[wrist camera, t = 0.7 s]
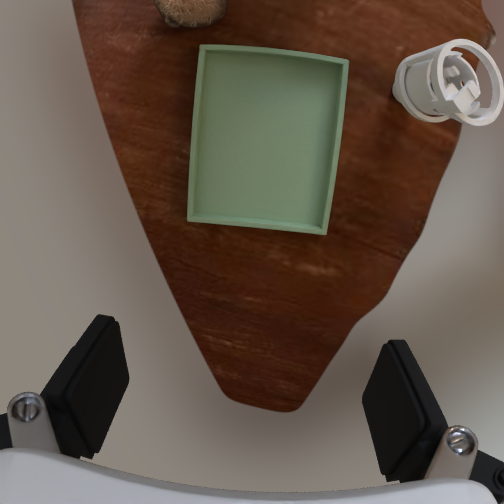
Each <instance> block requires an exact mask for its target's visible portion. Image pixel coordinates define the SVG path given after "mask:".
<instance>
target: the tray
mask: <svg viewBox="0 0 504 504" xmlns="http://www.w3.org/2000/svg"><path fill="white" fill-rule="evenodd" d="M348 65H349V60H346V59H341V58H335V57H330V56H324V55H319V54H312V53H306V52H299V51H292V50H283V49H274V48H264V47H252V46H236V45H200V50H199V58H198V67H197V77H196V87H195V98H194V109H193V121H192V134H191V149H190V166H189V185H188V209H187V221H189V222H200V223H211V224H222V225H233V226H243V227H254V228H264V229H273V230H283V231H293V232H302V233H311V234H320V235H326V234H327V228H328V223H329V217H330V211H331V205H332V198H333V192H334V185H335V179H336V172H337V165H338V157H339V150H340V142H341V134H342V126H343V118H344V109H345V99H346V89H347V79H348V67H349V66H348Z"/></svg>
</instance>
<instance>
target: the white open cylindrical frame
mask: <svg viewBox="0 0 504 504" xmlns="http://www.w3.org/2000/svg"><path fill="white" fill-rule="evenodd" d="M453 47H462V48H465V49H467V50H469V51H471V52H472V53H474V54H475V55H476V56H477V57H478V58H479V59H480V60H481V61H482V63H483V64H484V65H485V67H486V69H487V71H488V73H489V76H490V79H491V82H492V90H493V94H492V101H491V105H490V107H489V108H479V106H480V102H479V101H474V100H475V99H477V97H478V96H479V94H480V93H481V92H480V88H479V83H478V79H477V76H476V74H475V72H474V70H473V68H472V67H471V66H470V64H469V63H468V62H467V61H466V60H464V59H463V58H462V57H460V56H461V55H462V53H460V52H455V51H451V49H452V48H453ZM461 80H462V81H463V82H464V87H463V86H462V83H461ZM392 91H393V95H394V97H395V98H396V100H397V101H398V102H400V103H402V105H403V106H404V108H405V109H406V110H407V111H408V112H409V113H410V114H411V115H412V116H414V117H415V118H417V119H419V120H422V121H425V122H442V121H445V120H447V119H449V118H454V119H455V120H457V121H459V122H461V123H463V124H467V125H475V126H483V125H487V124H489V123H491V122H493V121H494V120H495V119H496V118H497V116H498V115H499V113H500V111H501V109H502V106H503V101H504V87H503V81H502V77H501V74H500V71H499V69H498V67H497V65H496V63H495V62H494V60H493V59H492V57H491V56H490V55H489V54H488V53H487V51H486V50H484V49H483V48H482V47H481V46H479V45H478V44H476V43H474V42H472V41H470V40H466V39H456V40H453V41H450V42H447V43H444V44H442V45H439V46H437V47H434V48H431V49H428V50H426V51H423V52H420V53H417V54H414V55H412V56H409V57H407V58H406V59H404V60H403V61H402V62H401V63H400V65H399V67H398V69H397V71H396V76H395V83H394V84H393V88H392ZM433 109H435V110H433ZM422 113H423V114H422ZM424 114H428V115H439V116H436V117H429V116H426V115H424Z"/></svg>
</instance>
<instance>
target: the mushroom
mask: <svg viewBox="0 0 504 504" xmlns="http://www.w3.org/2000/svg"><path fill="white" fill-rule="evenodd" d="M154 3H155V6H156V7H157V9H158V10H159V12H160V14H161V15H162V16H164V19H165V23H166V24H168V25H169V26H171V27H179V26H180V25H182V26H185V27H206V26H209V25H212V24H214V23H216V22H218V21H219V20H220V19H221V18H222V17H223V16H224V15H225V13H226V11H227V0H154Z"/></svg>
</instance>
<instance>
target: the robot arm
mask: <svg viewBox="0 0 504 504" xmlns="http://www.w3.org/2000/svg"><path fill="white" fill-rule="evenodd" d="M128 383H129V372H128V368H127V363H126V358H125V353H124V348H123V343H122V338H121V332H120V326H119V323H118V322H117V321H115V319H114V317H112V316H106V315H100V314H99V315H97V316H96V317H95V318H94V320H93V321H92V323H91V324H90V325H89V327H88V328H87V330H86V331H85V332H84V333H83V335H82V336H81V338H80V339H79V340H78V342H77V343H76V345H75V346H73V347H72V348H71V350H70V351H69V353H68V354H67V355H66V357H65V358H64V360H63V361H62V363H61V364H60V365H59V367H58V369H57V370H56V371H55V373H54V374H53V376H52V377H51V379H50V380H49V382H48V383H47V385H46V386H45V388H44V389H43V391H42V392H41V394H40V395H38V394H36V393H33V392H24V393H21V394H18V395H16V396H15V397H13V398H12V400H11V401H10V402H9V405H8V407H7V413H5V414H2V415H0V504H504V462H502V461H500V460H498V459H496V458H494V457H492V456H489V455H488V454H486V453H484V452H482V451H480V450H478V440H477V437H476V436H475V434H474V433H473V432H472V431H471V430H470V429H468V428H466V427H464V426H460V425H457V426H456V425H455V426H452V427H448V425H447V422H446V419H445V417H444V415H443V413H442V411H441V409H440V407H439V405H438V403H437V401H436V399H435V397H434V394H433V392H432V391H431V389H430V386H429V384H428V382H427V380H426V378H425V377H424V375H423V373H422V371H421V369H420V367H419V365H418V363H417V361H416V359H415V357H414V356H413V354H412V352H411V350H410V348H409V346H408V344H407V342H406V341H405V340H389V341H388V343H387V344H384V345H383V347H382V349H381V352H380V354H379V357H378V359H377V362H376V364H375V367H374V370H373V372H372V374H371V377H370V379H369V381H368V384H367V386H366V389H365V391H364V393H363V396H362V404H363V407H364V411H365V415H366V418H367V422H368V425H369V429H370V433H371V437H372V440H373V444H374V448H375V452H376V456H377V460H378V464H379V468H380V471H381V474H382V475H385V477H386V480H387V482H391V481H397V480H399V481H400V483H399V484H392V485H385V486H378V487H369V488H361V489H352V490H340V491H325V492H299V493H298V492H295V493H294V492H293V493H291V492H290V493H285V492H283V493H282V492H281V493H279V492H252V491H237V490H224V489H215V488H207V487H199V486H192V485H185V484H179V483H173V482H168V481H162V480H157V479H152V478H148V477H143V476H139V475H135V474H131V473H127V472H123V471H119V470H115V469H111V468H107V467H103V466H100V465H96V464H93V463H90V462H86V461H83V460H80V457H81V456H82V457H86V458H89V459H92V458H93V456H94V453H99V451H100V449H101V447H102V444H103V442H104V440H105V437H106V435H107V432H108V430H109V427H110V425H111V423H112V420H113V418H114V416H115V413H116V411H117V409H118V406H119V404H120V402H121V400H122V397H123V395H124V393H125V390H126V388H127V386H128Z"/></svg>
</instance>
